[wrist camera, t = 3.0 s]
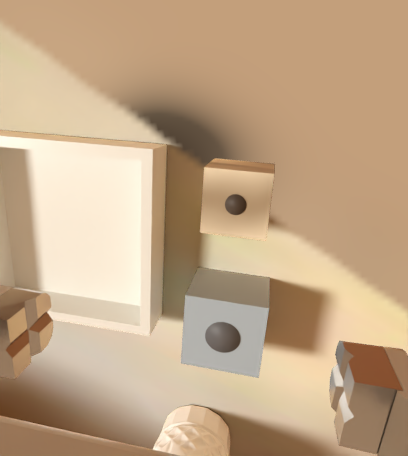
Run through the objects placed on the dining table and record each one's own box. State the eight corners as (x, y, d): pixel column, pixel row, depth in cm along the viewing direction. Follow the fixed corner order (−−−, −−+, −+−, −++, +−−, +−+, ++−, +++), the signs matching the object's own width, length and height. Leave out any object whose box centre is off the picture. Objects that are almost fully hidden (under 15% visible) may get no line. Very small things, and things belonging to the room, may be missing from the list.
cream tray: (162, 313, 32) (149, 336, 29) (12, 289, 35) (-15, 308, 31) (167, 144, 28) (152, 149, 24) (-8, 129, 30) (-42, 132, 27)
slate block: (260, 338, 32) (258, 378, 27) (194, 326, 32) (180, 363, 28) (269, 276, 30) (269, 308, 25) (198, 266, 31) (185, 295, 26)
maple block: (267, 221, 28) (265, 241, 24) (210, 214, 29) (199, 232, 25) (274, 163, 27) (274, 174, 22) (214, 158, 27) (204, 167, 23)
